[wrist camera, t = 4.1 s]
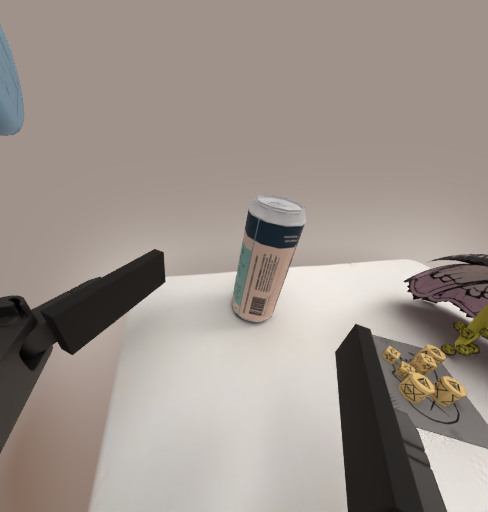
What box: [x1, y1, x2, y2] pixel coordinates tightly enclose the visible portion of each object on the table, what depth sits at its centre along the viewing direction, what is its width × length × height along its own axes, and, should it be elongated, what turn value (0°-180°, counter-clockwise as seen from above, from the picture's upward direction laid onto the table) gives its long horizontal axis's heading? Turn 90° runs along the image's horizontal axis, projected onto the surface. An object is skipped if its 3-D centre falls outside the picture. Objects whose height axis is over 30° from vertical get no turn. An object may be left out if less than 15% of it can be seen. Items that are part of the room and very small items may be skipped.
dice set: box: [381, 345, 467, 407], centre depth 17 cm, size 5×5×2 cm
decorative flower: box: [404, 254, 488, 356], centre depth 20 cm, size 15×12×15 cm
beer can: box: [232, 195, 306, 322], centre depth 18 cm, size 5×5×12 cm
